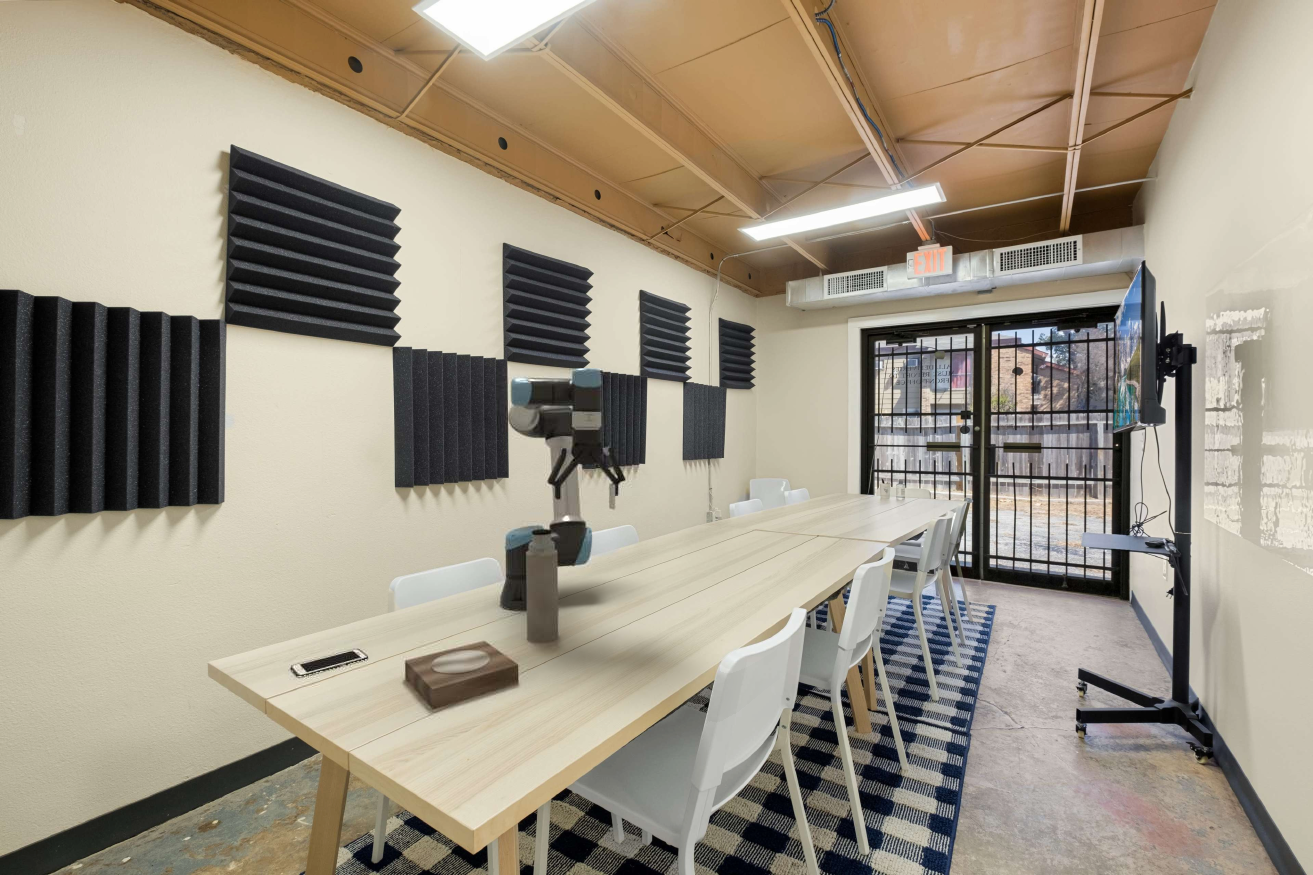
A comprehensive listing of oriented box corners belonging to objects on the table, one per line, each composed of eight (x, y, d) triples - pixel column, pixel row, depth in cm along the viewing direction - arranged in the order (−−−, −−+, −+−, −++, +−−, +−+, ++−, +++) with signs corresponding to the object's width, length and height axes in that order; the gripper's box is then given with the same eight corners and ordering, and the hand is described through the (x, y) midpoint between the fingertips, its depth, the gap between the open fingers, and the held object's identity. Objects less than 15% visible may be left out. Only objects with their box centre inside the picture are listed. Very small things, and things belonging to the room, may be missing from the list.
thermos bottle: (532, 631, 155) (531, 527, 155) (561, 632, 154) (560, 527, 154) (522, 642, 147) (521, 532, 147) (553, 643, 146) (552, 532, 146)
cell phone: (289, 669, 132) (289, 665, 132) (358, 651, 143) (358, 647, 143) (298, 680, 127) (298, 675, 127) (369, 660, 137) (369, 656, 137)
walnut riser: (405, 678, 126) (404, 659, 126) (484, 657, 138) (484, 639, 138) (432, 709, 112) (432, 687, 112) (518, 682, 124) (518, 663, 124)
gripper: (541, 429, 142) (542, 515, 143) (637, 428, 151) (637, 509, 152) (535, 428, 149) (536, 511, 150) (627, 427, 158) (627, 505, 159)
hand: (587, 510), depth 151 cm, fingers open, 13 cm apart
